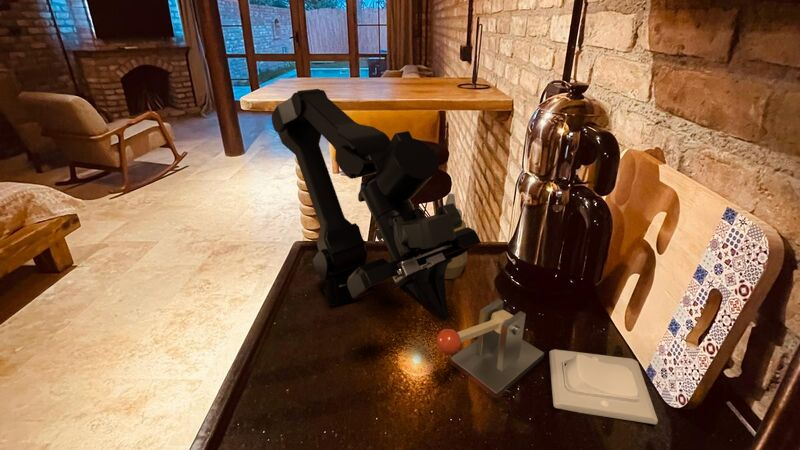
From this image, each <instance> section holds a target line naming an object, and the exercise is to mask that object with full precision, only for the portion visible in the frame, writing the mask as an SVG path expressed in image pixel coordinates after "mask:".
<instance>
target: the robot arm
mask: <svg viewBox="0 0 800 450" xmlns="http://www.w3.org/2000/svg"><path fill="white" fill-rule="evenodd" d="M271 124H272V127H273V130H274V132H275V133H277V135H278V137H279V139H280V142H281V144H282V145H283V146H284V147H285V148H287V149H288V150H289V151H291V153H293V154H294V155H295V158H296V161H297V164H298V166H299V169H300V173H301V175H302V178H303V181H304V184H305V187H306V189H307V193H308V195H309V198H310V201H311V204H312V208H313V210H314V212H315V213H314V214H315V216H316V219H317V222H318V225H319V232H318V237H317V241H316V246H317V249H318V252H317V253H316V255H315V256H314V257H313V258H312V263H313V267H314V271H315V272H316V273H317V274H318V275H319V276H320V277H321V278H322V279H323V280H324V281H325V282H326V286H323V287H322V290H323V294H324V296H325V299H326V301H327V304H328V306H329V307H330V308H334V307H339V306H342V305H345V304H350V303H354V302H358V301H361V300H363V296H365V295H367V294H369V293H373V291H374V290H375V288H376V285H378V284H381V283H383V282H385V281H388V280H390V279H393V281H394V284H393V285H391V288H392V289H393V290H396V289H398V290H401V292H403V293H405V294H406V295H407V296H409V297H410V298H412V299H413V300H414V301H415V302H416V303H418V304H419V305H420V307H422V308H423V309H424V310H426V311H427V312H428V313H429V314H430V315H432V317H433V318H434V319H436V320H437V321H438V322H439V323H444V322H446V321H448V320H449V310H448V303H447V293H446V279H445V272H446V268H447V265H448V264H449V263H451V262H452V259H453V258H455V257H458V256H460V255H462V254H463V253H465V252H467V253H468V251H470V250H471V249H473V248H475V247H476V246H478V245H480V244H481V243H482V240H481V239H480V237H479V235H478V233H477V232H476V230H475V229H473V228H471V227H469V226H466V228H464V229H461V230H458V231H456V232H454V229H456V228H459V227H461V226H462V220H463V219H462V220H461V216H460V213H459V212H458V210H457V208H458V207H457V206H456V207H455V205H454V204H453V203H452V204H446V203H445V204H446V205H445V204H443V205H440V206H436V208H435V214H433V215H430V216H427V215H426V214H425V212H424V210H423V209H422V208H421V207H419V208H415V207H414V205H413V202H412V201H411V199H412V198H414V197H415V195H416V194H418V192H419V191H420V190H421V189H422V188H423V187H424V186H425V185H426V184H427V183H428V182H429V181H430V179H432V178H433V176H434V175H435V174H436V173H437V171H438V169H439V159H438V156H437V153H436V152H435V149H433V148H431V147H430V146H429V145H428V144H427V143H425V142H424V141H422V140H420V139H418V138H413V136H412V134H411V132H410V131H409V130H406V131H400V132H395V133H394V135H392V138H390V137H389V136H388V134H387V133H385V132H384V131H381V129H378V128H376V127H374V126H371V125H367V124H360V123H359V122H356V121H355V120H353V118H351V117H350V116H349V115H348V114H347V113H346V112H345V111H343V109H341V108H340V107H339V106H338V105H337V104H335V103H334V102H333V100H331V99H330V98H328V95H327V93H326V91H325V90H324V89H320V88H311V89H302V90H297V92H293V94H292V95H291V97H289V98H288V99H286V100H285V101H283V102H280V103H279V104H278V105H276V107H275V108H274V110H273V112H272V113H271ZM322 137H323V138H324V139H325V140H326V141H327V142H328V143H329V144H330V145H331V146H332V147H333V148H334V150H335V152H334V153H335V156H334V160H335V162H336V164H337V165H338V167H339V169H340V171H341V172H343V174H344V175H345V176H346V177H347V178H348V179H350V180H351V179H352V180H353V179H357V178H361V177H366V176H370V177H369V178H368V179H367V180H366V181H363V182H361V183H360V189H359V192H358V194H357V200H358V202H360V203H362V202H365V204H366V206H367V208H368V210H369V213H370V215H371V217H372V219H373V221H374V223H375V226H376V228H377V231H376V232H375V234H374V235H375V236H376V238H377V240H378V241H380V240H382V241H383V243H384V245H385V248H386V249H387V252H388V254H389V256H390V257H388V259H387V260H386V259H385V258H384V257H381V258H379V259H377V260H374V261H371V262H368V263H366V261H367V256H368V250H369V249H368V246H367V244H366V241H365V240H364V238H363V235H362V233H361V230H360V229H361V228H360V226H359V225H358V224H357V223H356V222H354V223H352V222H350V221H349V220H348V219H347V218H346V217H345V215H344V214H345V213H344V212H343V210H342V206H341V202H340V201H339V198H338V196H337V192H336V189H335V186H334V183H333V181H332V178H331V174H330V172H329V169H328V167H327V163H326V160H325V156H324V155H323V152H322V149H321V146H320V142H321V138H322Z"/></svg>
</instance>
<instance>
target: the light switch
mask: <svg viewBox="0 0 800 450" xmlns="http://www.w3.org/2000/svg"><path fill="white" fill-rule="evenodd" d="M548 358H549V369H550V371H549V372H550V380H551V381H550V382H551V394H552V404H553V407H554V408H555V409H560V410H565V411H569V412H575V413H580V414H585V415H593V416H600V417H605V418H606V417H607V418H610V419H611V418H613V419H618V420H625V421H631V422H638V423H643V424H644V423H645V424H650V425H658V422H659V419H658V417H657V414H656V411H655V408H654V405H653V401H652V399H651V396H650V393H649V390H648V387H647V385H646V382H645V378H644V376H643V373H642V369H641V367H640V365H639V362H638V361H637V360H636V359H634V358H630V357H621V356H612V355H605V354H597V353H587V352H578V351H571V350H563V349H551V350H550V351H549V352H548Z"/></svg>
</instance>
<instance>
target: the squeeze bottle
mask: <svg viewBox="0 0 800 450" xmlns="http://www.w3.org/2000/svg"><path fill="white" fill-rule="evenodd" d="M452 203H453V204H454V205H455V207H456V208H457V210H458V212H459V213H460V216H461V220H462V226H461V227H459V228H456V229H454V232H456V231H458V230H461V229H464V228H467V223H466V222H465V220H464V219H463V218H462V216H463V212H462V210H461V209H460V208H458V207H457V203H456V197H455V194H454V193H448V194H447V197H446V200H445V204H444V205H446V204H452ZM467 262H468V251H467V252H465V253H463V254H462V255H460V256H458V257H455V258H453V259H452V262H451V263H449V264H448V265H447V268H446V272H445V280H453V279H456V278H458V277H460V276H461V275H462V273H463V271H464V269H465V267H466V265H467Z"/></svg>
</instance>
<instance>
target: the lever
mask: <svg viewBox="0 0 800 450" xmlns="http://www.w3.org/2000/svg"><path fill="white" fill-rule="evenodd" d="M512 316H514V315H513V314H511V313H510V312H508V311H506V310H504V309H503V310H500V311H497V312H494V313H492V317H491V320H490V321H488V322H485V323H482V324H479V323H478V324H477V325H474V326H471V327H468V328H465V329H462V330H460V331H456V330H455V329H453V328H443V329H442V330H440V331H439V332H438V334H437V335H436V338H435V342H436V347H437V349H438V350H439V351H440V352H441V353H442V354H445V355H453V354H456V353H458V352H459V349H460V348H461V345H462V343H464V342H467V341H470V340H471V339H474V338H478V336H480V335H482V334H485V333H487V332H490V331H493V330H494V331H496V332H497V333H499V334H501V328H502V323H504V322H505V321H507V320H508V319H510V318H511V317H512Z"/></svg>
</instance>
